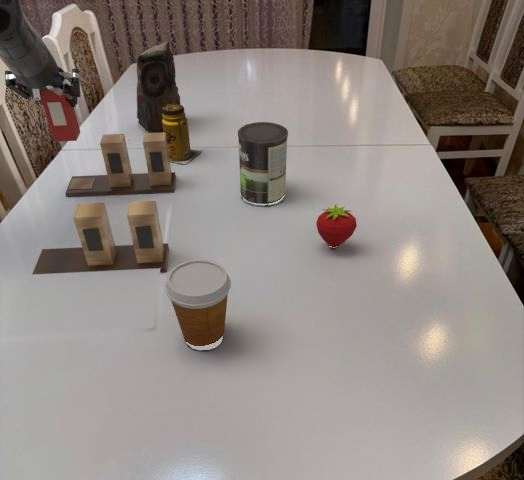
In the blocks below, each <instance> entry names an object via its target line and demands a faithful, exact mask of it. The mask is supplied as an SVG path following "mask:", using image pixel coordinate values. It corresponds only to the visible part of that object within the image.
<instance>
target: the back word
mask: <svg viewBox="0 0 524 480" xmlns="http://www.w3.org/2000/svg"><path fill="white" fill-rule="evenodd" d="M125 135H126V134H125V133H111V134H102V137H101V139H100V142H99V145H100V150H101V154H102V158H103V161H104V162H103V163H104V165H105V171H106V174H98V175H97V174H95V175H72V176H71V179H70V180H69V183H68V185H67V188H66V191H65V197H66V198H74V197H75V198H76V197H97V196H98V197H99V196H100V197H101V196H121V195H124V196H125V195H144V194H145V195H146V194H147V195H149V194H172V193H175V187H176V177H177V176H176V175H177V174H176V171H172V166H171V162H170V159H169V152H168V145H167V138H166V132H162V133H149V132H144V134H143V140H142V145H143V150H144V158H145V162H146V168H147V172H146V173H145V172H144V173H133V171H132V166H131V161H130V156H129V155H130V154H129V150H128V146H127V141H126V136H125Z"/></svg>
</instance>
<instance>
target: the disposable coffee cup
mask: <svg viewBox="0 0 524 480" xmlns="http://www.w3.org/2000/svg"><path fill="white" fill-rule="evenodd" d="M231 287H232V281H231V278H230V276H229V274H228V272H227V271H226V268H225V267H223V266H222V265H221V264H220V263H218V262H215V261H213V260H208V259H191V260H186V261H184V262H180V263H178V264H177V265H175V266H174V267H172V269H171V270H169V272H168V273H167V276H166V280H165V282H164V291H165V294H166V296H167V297H168V298H169V299H170V301H171V305H172V307H173V311H174V313H175V316H176V319H177V322H178V325H179V328H180V330H181V334H182V337H183V339H185V340H184V342H185V341H186V342H188V343H189V344H191V345H194V346H205V345H209V344H212V343H215V342H216V341H218V340H219V339H220V338H221V337H222V336H223V334H224V335H225V329H226V328H225V327H226V320H227V319H226V316H227V305H228V296H229V295H228V294H229V293H230V289H231Z"/></svg>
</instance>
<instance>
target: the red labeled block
mask: <svg viewBox="0 0 524 480" xmlns="http://www.w3.org/2000/svg"><path fill="white" fill-rule="evenodd" d="M40 97H41V100H42V103H43V105H42V107H43V109H44V113H45V116H46V119H47V123H48V126H49V129H50V132H51V133H50V134H51V136H52V140H53V142H54V143H55V142H56V143H57V142H77V140H78V138H79V136H80V134H81V129H80V125H79V121H78V117H77V113H76V110H75V107H72V106H71V105H70V104H69V102H68V101H67V99H66V98H65V97H64V96H63V95H61V96H59V95H58V94H56V93H55V92H53V91H52V90H45V91H40Z"/></svg>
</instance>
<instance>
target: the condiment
mask: <svg viewBox="0 0 524 480" xmlns="http://www.w3.org/2000/svg"><path fill="white" fill-rule="evenodd" d="M180 104H181V103H180ZM180 104H168V105H165V106H164V107H163V108H162V113H163V120H162V125H163V131H164V132H166V138H167V145H168V152H169V159H170V163H176V164H180V165H181V164H182V165H186V164H187V163H189V162H190V161H191V160H193V159H195V157H197V156H198V155H200V154H201V152H203V150H200V149H199V150H198V149H193V148H191V141H190V132H189V131H190V130H189V124H188V118H187V117H186V112H185V107H184V106H183V105H182V104H181V105H180Z"/></svg>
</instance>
